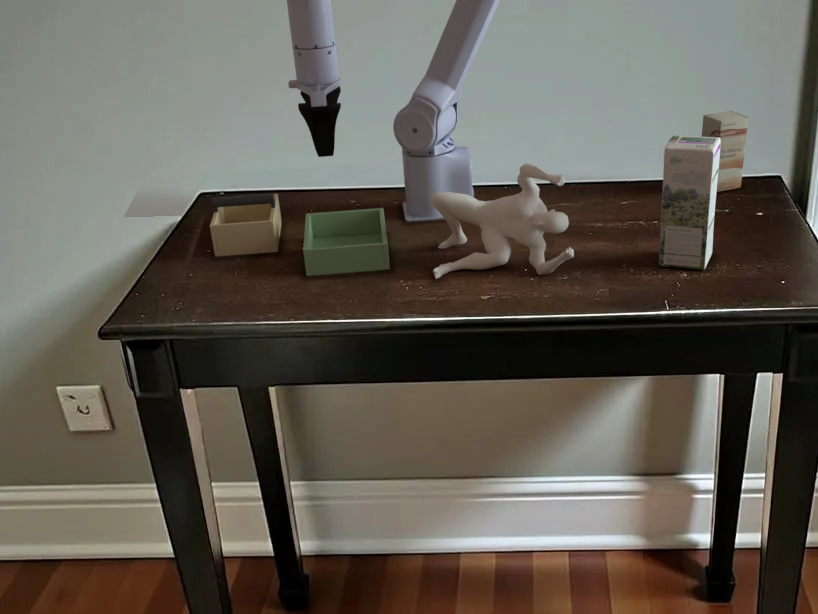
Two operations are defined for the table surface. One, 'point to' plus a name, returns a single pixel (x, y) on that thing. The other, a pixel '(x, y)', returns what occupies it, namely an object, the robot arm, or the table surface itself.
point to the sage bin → (345, 242)
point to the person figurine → (504, 224)
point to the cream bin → (245, 224)
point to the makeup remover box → (728, 145)
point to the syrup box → (688, 201)
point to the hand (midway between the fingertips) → (326, 148)
